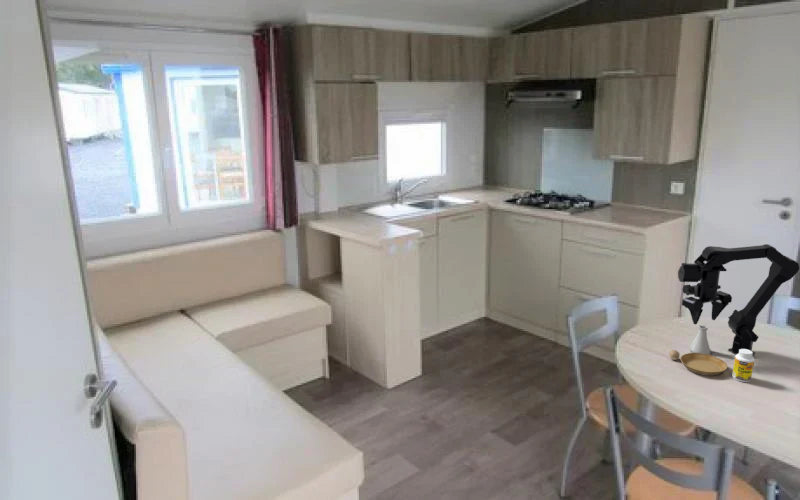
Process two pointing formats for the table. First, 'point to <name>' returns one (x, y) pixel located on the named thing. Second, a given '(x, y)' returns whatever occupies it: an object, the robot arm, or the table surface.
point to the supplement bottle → (743, 365)
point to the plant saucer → (703, 363)
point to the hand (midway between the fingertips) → (704, 322)
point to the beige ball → (674, 355)
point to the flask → (701, 342)
